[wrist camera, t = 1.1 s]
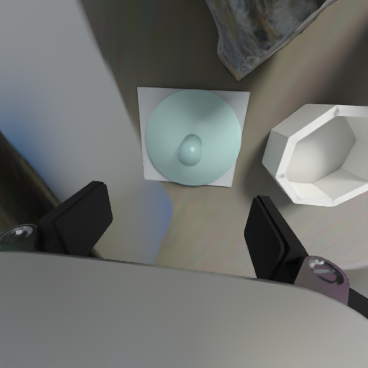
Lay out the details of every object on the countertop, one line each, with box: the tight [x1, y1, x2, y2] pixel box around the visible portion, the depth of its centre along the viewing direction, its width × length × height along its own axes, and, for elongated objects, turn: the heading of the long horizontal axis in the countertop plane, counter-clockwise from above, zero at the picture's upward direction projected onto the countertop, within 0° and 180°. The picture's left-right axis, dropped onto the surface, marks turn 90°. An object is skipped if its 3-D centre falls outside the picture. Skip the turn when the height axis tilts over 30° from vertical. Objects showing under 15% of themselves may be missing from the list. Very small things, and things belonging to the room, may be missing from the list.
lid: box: [146, 89, 241, 186], centre depth 22 cm, size 14×14×6 cm
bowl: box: [262, 104, 368, 207], centre depth 22 cm, size 12×12×6 cm
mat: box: [137, 87, 250, 187], centre depth 25 cm, size 14×15×1 cm
